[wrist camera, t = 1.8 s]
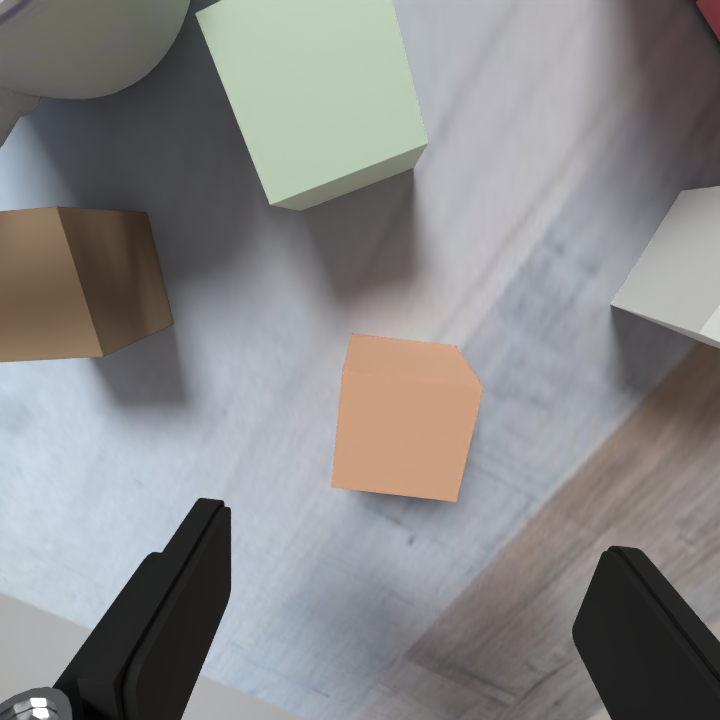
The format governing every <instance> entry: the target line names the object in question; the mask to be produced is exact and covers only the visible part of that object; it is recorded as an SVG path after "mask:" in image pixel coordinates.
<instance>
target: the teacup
mask: <svg viewBox="0 0 720 720" xmlns="http://www.w3.org/2000/svg"><path fill="white" fill-rule="evenodd" d="M189 4H190V0H0V148H1V146H2V145H3V144H4V142H5V141H6V139H7V137H8V136H9V134H10V132H11V131H12V129H13V127H14V126H15V124H16V122H17V121H18V119H19V118H20V117H21V116H24V115H26V114H28V113H30V112H32V111H33V110H34V109H35V108H36V107H37V105H38V104H39V101H40V97H41V96H43V97H49V98H60V99H89V98H97V97H102V96H107V95H110V94H113V93H116V92H119V91H121V90H123V89H125V88H127V87H129V86H131V85H133V84H134V83H136V82H137V81H139V80H140V79H141V78H143V77H144V76H146V75H147V74H148V73H149V72H150V71H151V70H152V69H153V68H154V67H155V66H157V64H158V63H159V62H160V61H161V60H162V59H163V57H164V56H165V55H166V54H167V52H168V50H169V49H170V47H171V46H172V44H173V42H174V41H175V39H176V37H177V35H178V33H179V31H180V29H181V27H182V24H183V21H184V19H185V16H186V13H187V10H188V8H189Z"/></svg>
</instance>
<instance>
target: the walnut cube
mask: <svg viewBox="0 0 720 720" xmlns="http://www.w3.org/2000/svg"><path fill="white" fill-rule="evenodd" d="M172 324H174V323H173V318H172V314H171V310H170V306H169V302H168V298H167V294H166V289H165V285H164V281H163V277H162V273H161V269H160V265H159V260H158V256H157V252H156V248H155V244H154V240H153V236H152V231H151V227H150V223H149V219H148V215H147V213H144V212H129V211H113V210H98V209H83V208H68V207H47V208H35V209H23V210H11V211H0V362H15V361H33V360H51V359H69V358H88V357H104V356H106V355H108V354H110V353H112V352H114V351H116V350H119V349H121V348H123V347H125V346H127V345H129V344H131V343H134V342H136V341H138V340H140V339H142V338H144V337H146V336H148V335H151V334H153V333H155V332H157V331H159V330H161V329H163V328H165V327H168V326H170V325H172Z"/></svg>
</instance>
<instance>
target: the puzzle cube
mask: <svg viewBox="0 0 720 720" xmlns="http://www.w3.org/2000/svg"><path fill="white" fill-rule="evenodd" d="M695 3H696V5H697V6H698V8H699V9H700V11H701V13H702V14H703V16H704V17H705V19H706V20H707V22H708V24H709V25H710V27H711V28H712V30H713V31H714V33H715V35H716V36H717V38H718V39H719V41H720V0H695Z"/></svg>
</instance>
